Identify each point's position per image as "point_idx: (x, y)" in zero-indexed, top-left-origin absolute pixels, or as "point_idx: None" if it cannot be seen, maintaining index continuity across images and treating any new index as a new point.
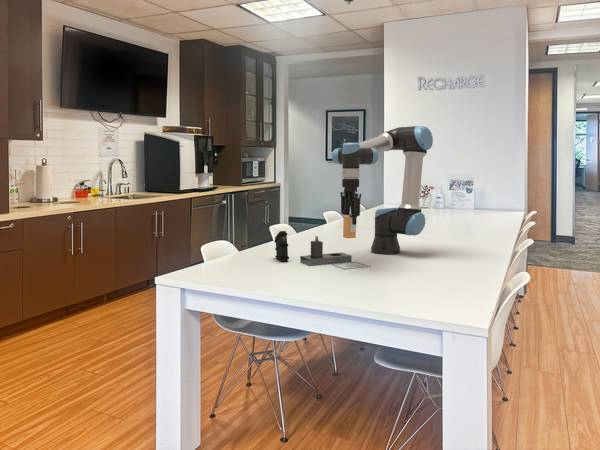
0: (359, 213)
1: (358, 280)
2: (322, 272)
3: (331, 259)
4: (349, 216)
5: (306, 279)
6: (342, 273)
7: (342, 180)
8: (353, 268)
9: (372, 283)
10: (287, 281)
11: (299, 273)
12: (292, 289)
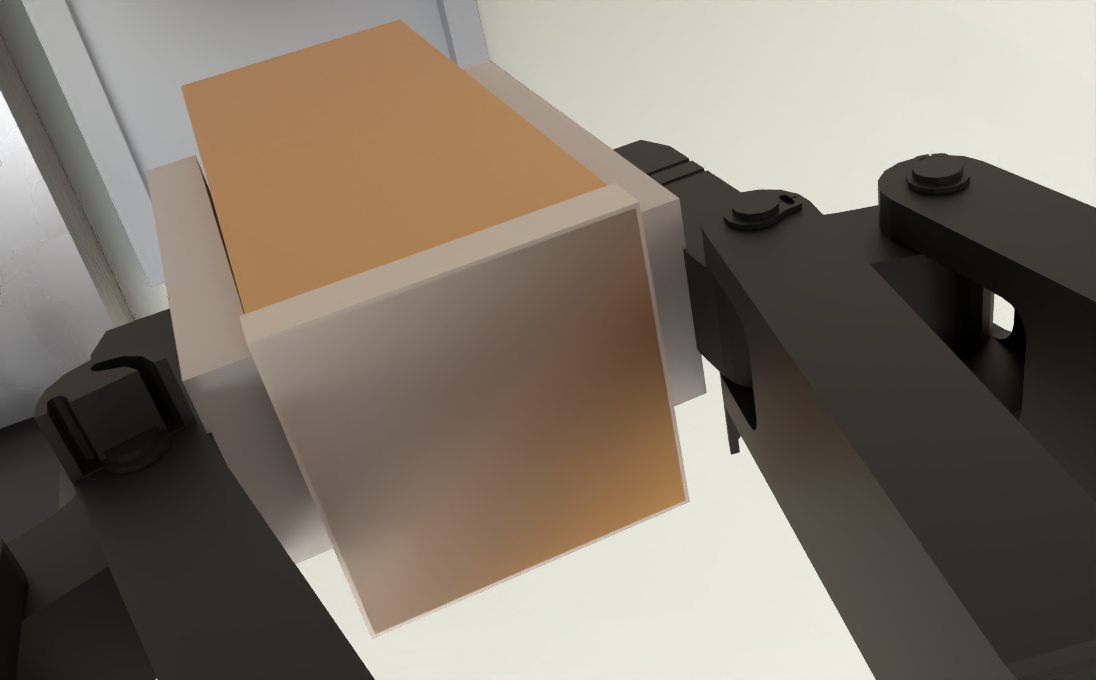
0: (1023, 197)
1: (902, 106)
2: None
3: (100, 287)
4: (672, 452)
5: (708, 541)
6: None
7: None
8: (480, 24)
9: (1044, 5)
10: (721, 663)
11: (470, 601)
12: None
